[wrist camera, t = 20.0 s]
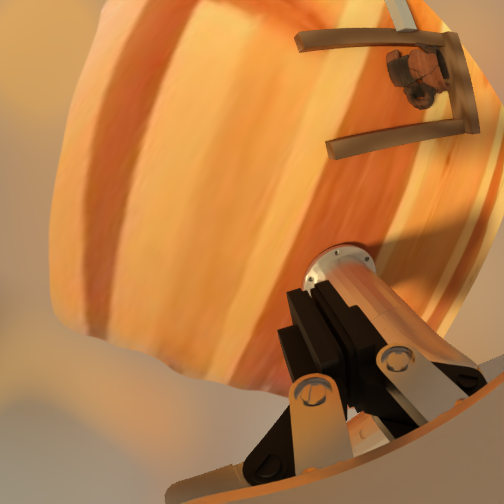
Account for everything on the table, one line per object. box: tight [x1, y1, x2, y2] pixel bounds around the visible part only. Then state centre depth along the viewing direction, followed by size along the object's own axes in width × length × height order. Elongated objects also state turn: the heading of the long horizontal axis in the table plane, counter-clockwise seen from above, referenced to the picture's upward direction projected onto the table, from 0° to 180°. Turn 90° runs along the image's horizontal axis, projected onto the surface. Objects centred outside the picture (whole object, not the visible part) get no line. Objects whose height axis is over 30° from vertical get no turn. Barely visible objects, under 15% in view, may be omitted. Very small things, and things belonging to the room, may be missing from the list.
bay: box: [294, 28, 480, 160], centre depth 32 cm, size 18×28×4 cm, turn 106°
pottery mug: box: [386, 42, 450, 110], centre depth 32 cm, size 12×10×8 cm
